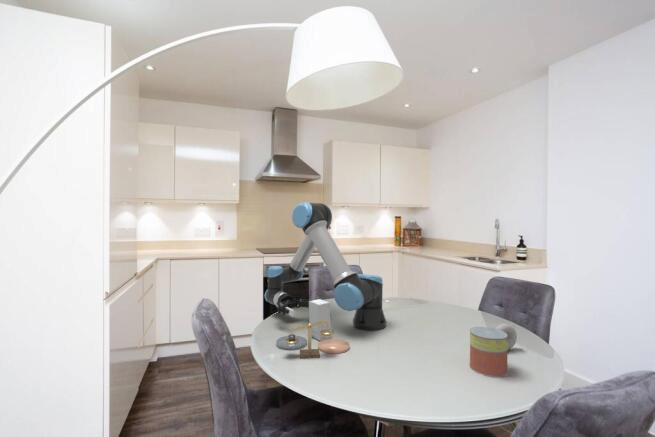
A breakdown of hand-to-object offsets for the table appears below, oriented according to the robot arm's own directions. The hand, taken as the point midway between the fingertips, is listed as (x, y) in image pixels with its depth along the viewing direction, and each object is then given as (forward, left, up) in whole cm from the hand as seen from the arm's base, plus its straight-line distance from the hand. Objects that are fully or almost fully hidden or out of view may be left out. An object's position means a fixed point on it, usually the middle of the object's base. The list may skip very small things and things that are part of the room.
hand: (307, 311), depth 146 cm
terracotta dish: (-9, +20, -8) cm, 24 cm away
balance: (0, +26, -8) cm, 28 cm away
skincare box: (-5, +8, -9) cm, 13 cm away
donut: (-73, +28, -9) cm, 79 cm away
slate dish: (+7, +15, -8) cm, 19 cm away
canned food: (-58, +42, -9) cm, 72 cm away
